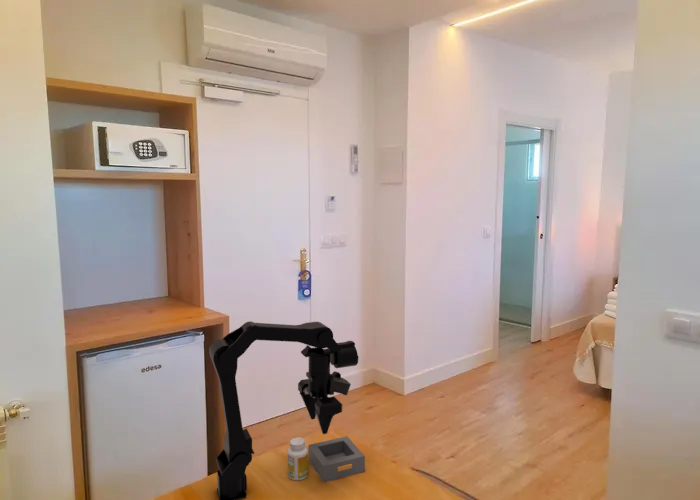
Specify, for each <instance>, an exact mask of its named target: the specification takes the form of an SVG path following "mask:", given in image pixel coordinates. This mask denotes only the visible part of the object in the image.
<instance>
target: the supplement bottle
mask: <svg viewBox="0 0 700 500" xmlns="http://www.w3.org/2000/svg"><path fill="white" fill-rule="evenodd" d="M287 471H288V473H287V475H288V478H289V479H291V481H292V480H293V481H301V480H305V479H306V478H307V477H308V476H309V452H308V447H306V440H305V439H304V438H303V437H293V438H291V440H290V441H289V447H288V449H287Z"/></svg>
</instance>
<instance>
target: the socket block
mask: <svg viewBox="0 0 700 500" xmlns="http://www.w3.org/2000/svg"><path fill="white" fill-rule="evenodd" d="M307 450H308V462H310V464H311V465H312V468H314V470H315V472H316V473H317V474H318V476H319V477H320V480H322V482H323V483H326V482H330V481H335V480H338V479H341V478H346V477H349V476H354V475H357V474H360V473H365V472H366V468H365V467H366V460H365V459H366V458H365V455H364V453H363V452H362V451H361V450H360V448H358V446H357V445H356V444H355V443H354V442H353V441H352V440H351V438H349V436H347V435H346V436H342V437H341V436H340V437H338V438H332V439H328V440H325V441H320V442H315V443H311V444H308V446H307Z"/></svg>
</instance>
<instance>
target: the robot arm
mask: <svg viewBox="0 0 700 500" xmlns="http://www.w3.org/2000/svg"><path fill="white" fill-rule="evenodd" d="M255 341H270V342H271V341H272V342H291V343H293V342H294V343H301V344H304V345H305V347H304V348H303V349H302V350H301V351H300V353H301V354H302V356H304V358H308V371H306V373H305V375H306V377H307V378H306V379H300V380H299V382H298V383H297V390H298V392H299V395H300V397H301V399H302V401H303V403H304V406H305V407H306V410H307V412H308V415H309V417H310V420H315V419H317V421H318V425H319V428H320V431H321V433H322V434H323V435H326V434H328V431H329V429H330V425H331V423H332V420H333V417H334V416H335V415H339V414H340V413H341V414H342V412H343V403H342V402H341V401H340V400H339V399H337V398H336V397H335V396H333V395H335V393H337V394H342V395H343V396H348V393H349V391H350V387H351V385H352V384H351V383H350V382H349V381H348V380H347V379H346V378H344V377H342V375H341V373H340V372H339V371H335V370H334V371H333V372H332V373H331V365H332V366H333V368H335V369H340V368H349V367H355V366H357V365H358V364H359V354H358V351H357V348H356V344H355V342H354V340H347V341H343V342H337V341H336V340H335V338H334V332H333V330H332V329H331V328H330V327H328V326H326V325H325V324H324V323H322V322H320V321H310V322H304V323H300V324H297V325H296V324H283V323H282V324H280V323H265V322H263V323H262V322H254V321H247V322H244V323H243V324H242V325H241V326H239V327H238V328H236V329H234V330H233V331H231V332H229V333H228V334H226V335H225V336H224V337H223V338H220V339H216V340H215V341H214V342H212V344H211V345H210V346H209V347H208V348H209V349H208V352H209V357H210V360H211V363H212V364H213V367H214V370H215V373H216V376H217V377H218V385H219V390H220V391H219V392H220V397H221V404H222V411H223V412H222V413H223V418H224V423H225V434H224V439H223V441H224V443H223V449H222V450H221V451H220V452H219V454H218V455H217V456H216V457H215V461H216V464H217V467H218V470H217V471H216V476H217V477H216V479H217V488H216V493H217V497H218V499H219V500H241V499H246V498H247V495H248V494H247V491H248V483H247V480H248V479H247V478H248V477H247V474H246V469H247V467H248V466H249V465H250V463H251V462H252V459H253V455H254V454H255V451H254V449H253V437H252V436H251V434H250V432H249V430H248V428H244V429H243V423H242V415H241V409H240V402H239V395H238V387H237V380H236V375H237V371H238V361H239V360H238V359H239V358H240V357H242V356H243V355H244V354H245V352H247V350H248V349H249V347H250V346H251V345H252V344H253V343H254V342H255ZM329 396H330V397H329Z"/></svg>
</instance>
